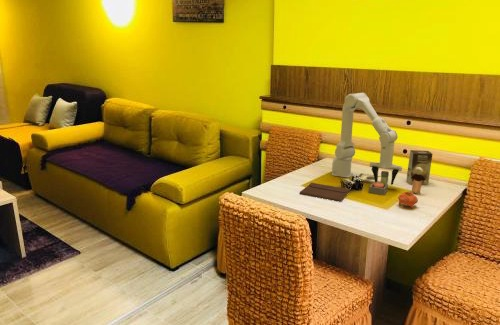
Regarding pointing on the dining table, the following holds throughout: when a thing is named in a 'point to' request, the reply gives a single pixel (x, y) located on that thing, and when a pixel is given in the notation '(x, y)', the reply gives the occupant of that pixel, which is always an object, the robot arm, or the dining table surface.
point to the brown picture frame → (369, 178)
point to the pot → (407, 199)
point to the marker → (384, 177)
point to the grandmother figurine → (417, 181)
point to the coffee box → (419, 164)
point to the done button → (378, 184)
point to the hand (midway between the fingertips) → (384, 183)
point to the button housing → (378, 189)
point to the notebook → (325, 192)
